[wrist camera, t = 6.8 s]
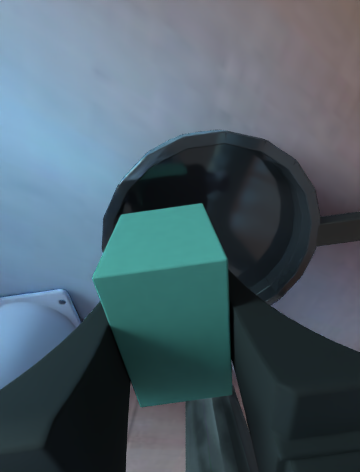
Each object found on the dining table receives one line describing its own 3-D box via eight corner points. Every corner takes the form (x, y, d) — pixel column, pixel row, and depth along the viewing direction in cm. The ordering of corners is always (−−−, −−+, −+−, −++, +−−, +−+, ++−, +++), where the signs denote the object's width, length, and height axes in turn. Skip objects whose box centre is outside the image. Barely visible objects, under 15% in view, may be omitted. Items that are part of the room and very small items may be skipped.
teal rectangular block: (211, 309, 14) (232, 395, 10) (147, 317, 14) (140, 408, 10) (202, 202, 11) (228, 258, 7) (120, 213, 11) (90, 277, 7)
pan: (288, 291, 19) (304, 313, 17) (133, 312, 19) (129, 337, 17) (310, 116, 13) (340, 115, 11) (85, 146, 13) (69, 152, 11)
